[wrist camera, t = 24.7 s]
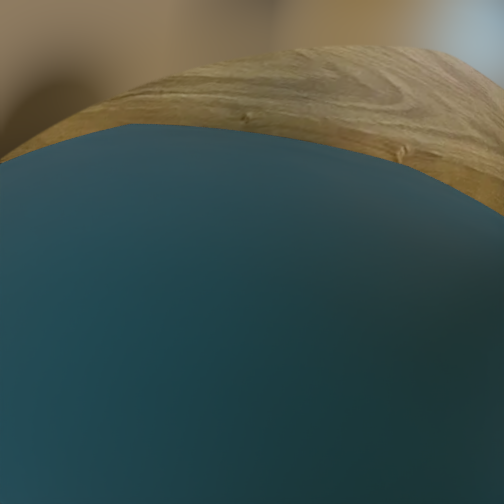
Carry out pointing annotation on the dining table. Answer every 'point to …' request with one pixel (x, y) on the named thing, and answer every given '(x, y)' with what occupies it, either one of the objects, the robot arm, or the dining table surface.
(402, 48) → the dining table surface
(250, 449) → the lid
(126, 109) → the dining table surface
